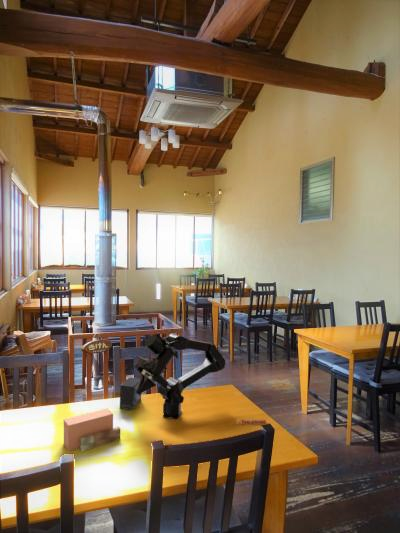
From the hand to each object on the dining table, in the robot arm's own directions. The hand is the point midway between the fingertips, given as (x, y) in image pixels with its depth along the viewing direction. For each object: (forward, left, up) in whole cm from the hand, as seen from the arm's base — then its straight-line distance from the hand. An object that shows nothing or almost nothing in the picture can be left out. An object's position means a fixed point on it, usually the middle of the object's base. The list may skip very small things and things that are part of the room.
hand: (137, 393), depth 143 cm
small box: (+10, -17, -13) cm, 24 cm away
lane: (+11, +13, -13) cm, 21 cm away
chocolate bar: (-43, -14, -13) cm, 48 cm away
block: (+12, +15, -13) cm, 23 cm away
